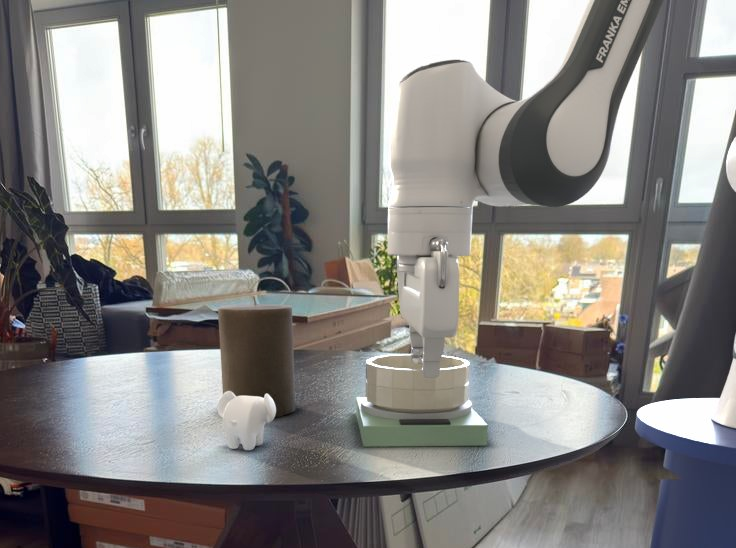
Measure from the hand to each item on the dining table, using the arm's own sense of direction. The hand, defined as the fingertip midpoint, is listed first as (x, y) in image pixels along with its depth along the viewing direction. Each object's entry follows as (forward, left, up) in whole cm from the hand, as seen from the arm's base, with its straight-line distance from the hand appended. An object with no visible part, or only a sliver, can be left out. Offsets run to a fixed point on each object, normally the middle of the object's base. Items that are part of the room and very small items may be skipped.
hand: (424, 369), depth 81 cm
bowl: (0, -5, -5) cm, 7 cm away
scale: (0, -5, -8) cm, 9 cm away
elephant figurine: (+20, +2, -8) cm, 22 cm away
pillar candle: (+20, -16, -8) cm, 27 cm away
